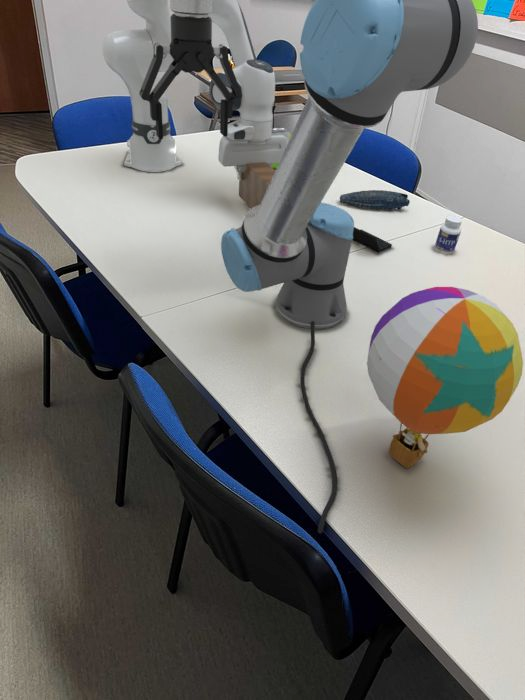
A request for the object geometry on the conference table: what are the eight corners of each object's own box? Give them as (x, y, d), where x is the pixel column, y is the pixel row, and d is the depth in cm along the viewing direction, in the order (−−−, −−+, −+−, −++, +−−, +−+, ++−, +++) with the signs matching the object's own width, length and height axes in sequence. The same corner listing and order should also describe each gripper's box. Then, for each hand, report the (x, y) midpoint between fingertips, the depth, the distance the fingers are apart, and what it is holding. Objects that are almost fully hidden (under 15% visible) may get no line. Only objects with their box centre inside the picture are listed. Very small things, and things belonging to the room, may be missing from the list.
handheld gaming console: (396, 239, 139) (388, 216, 131) (384, 261, 138) (375, 240, 130) (358, 230, 145) (348, 208, 137) (347, 252, 144) (336, 231, 136)
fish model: (408, 214, 157) (412, 198, 153) (339, 207, 158) (341, 191, 154) (406, 206, 162) (410, 190, 159) (339, 199, 163) (341, 183, 160)
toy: (317, 448, 82) (351, 286, 63) (393, 397, 93) (442, 246, 74) (418, 536, 71) (496, 372, 52) (491, 467, 82) (578, 310, 63)
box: (294, 231, 138) (298, 191, 131) (273, 233, 136) (276, 193, 129) (257, 193, 156) (259, 157, 149) (238, 195, 154) (240, 158, 147)
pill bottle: (433, 251, 139) (442, 220, 133) (435, 243, 143) (444, 213, 137) (453, 256, 138) (464, 225, 132) (454, 247, 142) (465, 217, 136)
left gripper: (285, 124, 147) (280, 172, 155) (216, 126, 140) (215, 177, 148) (295, 130, 142) (289, 180, 151) (224, 133, 135) (223, 185, 144)
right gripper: (248, 14, 101) (243, 128, 114) (117, 8, 93) (128, 132, 106) (262, 19, 95) (255, 138, 109) (124, 14, 87) (134, 144, 101)
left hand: (252, 178), depth 149 cm, fingers closed on box, 6 cm apart
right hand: (192, 135), depth 107 cm, fingers open, 13 cm apart
